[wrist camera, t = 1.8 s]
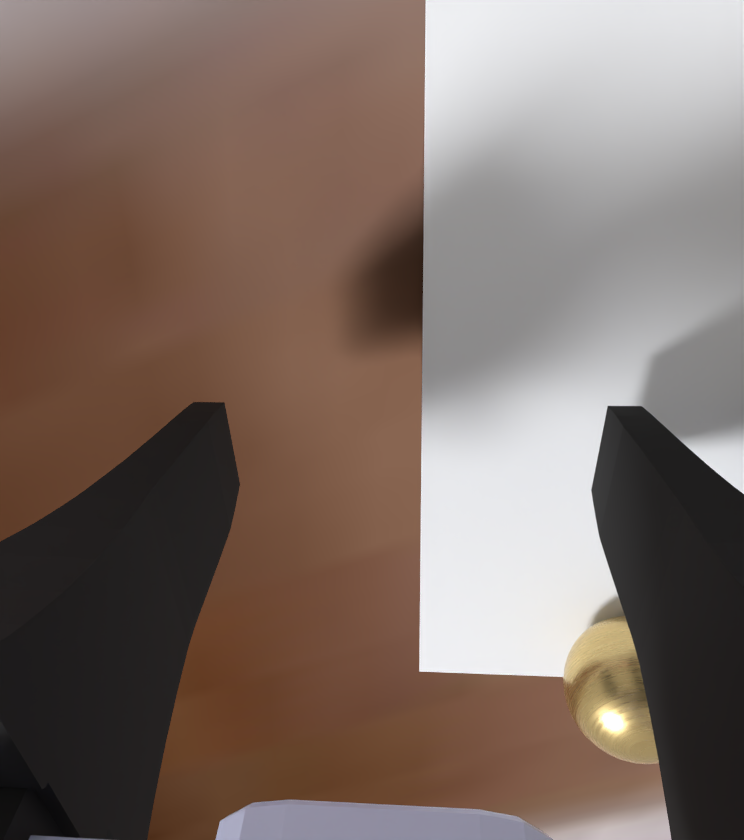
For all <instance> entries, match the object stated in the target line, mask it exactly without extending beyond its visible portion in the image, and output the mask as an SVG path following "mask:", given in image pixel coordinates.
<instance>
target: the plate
mask: <svg viewBox="0 0 744 840" xmlns="http://www.w3.org/2000/svg"><path fill="white" fill-rule="evenodd" d="M608 406H642V407H643V408H645V409H646V410H647V411H648V412H649V413H650V414H652V415H653V416H654V417H655V418H656V419H657V420H658V421H659V422H660V423H662V424H663V425H664V426H665V427H666V428H667V429H668V430H669V431H670V432H671V433H672V434H674V435H675V436H676V437H677V438H678V439H679V440H680V441H681V442H682V443H683V444H685V445H686V446H687V447H688V448H689V449H690V450H691V451H692V452H693V453H695V454H696V455H697V456H698V457H699V458H700V459H701V460H703V461H704V462H705V463H706V464H707V465H708V466H710V467H711V468H712V469H713V470H714V471H715V472H717V473H718V474H719V475H720V476H721V477H723V478H724V479H725V480H726V481H728V482H729V483H730V484H731V485H733V486H734V487H735V488H736V489H738V490H739V491H740V492H742V493H743V494H744V0H426V32H425V137H424V243H423V349H422V454H421V560H420V665H419V671H421V672H448V673H475V674H502V675H529V676H556V677H563V676H564V667H565V663H566V659H567V657H568V654H569V652H570V650H571V648H572V646H573V645H574V643H575V641H576V640H577V639H578V638H579V637H580V636H581V635H582V634H583V633H584V632H585V631H586V630H587V629H588V628H590V627H591V626H593V625H595V624H596V623H598V622H601V621H603V620H606V619H609V618H612V617H618V616H625V615H624V612H623V609H622V606H621V603H620V600H619V597H618V593H617V590H616V587H615V584H614V581H613V578H612V575H611V572H610V569H609V566H608V563H607V560H606V557H605V554H604V550H603V547H602V544H601V541H600V537H599V533H598V527H597V522H596V517H595V511H594V505H593V498H592V492H591V489H592V484H593V479H594V474H595V468H596V463H597V458H598V453H599V448H600V443H601V438H602V433H603V427H604V422H605V417H606V412H607V407H608Z"/></svg>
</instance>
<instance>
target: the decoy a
mask: <svg viewBox="0 0 744 840" xmlns="http://www.w3.org/2000/svg"><path fill="white" fill-rule="evenodd" d="M563 685H564V694H565V698H566V702H567V705H568V708H569V710H570V713H571V715H572V717H573V719H574V721H575V722H576V724H577V725H578V727H579V728H580V730H581V731H582V732H583V733H584V735H585V736H586V737H587V738H588V739H589V740H590V741H591V742H592V743H593V744H595V745H596V746H597V747H599V748H600V749H601V750H603V751H604V752H606V753H608V754H610V755H612V756H614V757H616V758H618V759H621V760H624V761H628V762H632V763H638V764H655V763H659V760H658V755H657V750H656V744H655V739H654V734H653V728H652V723H651V718H650V713H649V708H648V703H647V698H646V693H645V689H644V684H643V679H642V674H641V670H640V665H639V661H638V657H637V653H636V650H635V646H634V643H633V639H632V636H631V633H630V630H629V627H628V624H627V621H626V618H625V616H618V617H612V618H609V619H606V620H603V621H601V622H598V623H596V624H595V625H593V626H591V627H590V628H588V629H587V630H586V631H585V632H584V633H583V634H582V635H581V636H580V637H579V638H578V639H577V640H576V641H575V643H574V645H573V646H572V648H571V650H570V652H569V654H568V657H567V659H566V663H565V667H564V676H563Z"/></svg>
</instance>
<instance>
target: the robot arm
mask: <svg viewBox="0 0 744 840" xmlns="http://www.w3.org/2000/svg"><path fill="white" fill-rule="evenodd" d="M239 486H240V483H239V477H238V472H237V467H236V461H235V456H234V451H233V446H232V440H231V435H230V430H229V425H228V419H227V414H226V409H225V403H215V402H193V403H192V404H191V405H189V406H188V407H187V408H186V409H184V410H183V411H182V412H181V413H180V414H178V415H177V416H176V417H175V418H174V419H173V420H171V421H170V422H169V423H168V424H167V425H166V426H164V427H163V428H162V429H161V430H160V431H159V432H158V433H156V434H155V435H154V436H153V437H152V438H151V439H149V440H148V441H147V442H146V443H145V444H143V445H142V446H141V447H140V448H139V449H137V450H136V451H135V452H134V453H133V454H131V455H130V456H129V457H128V458H127V459H125V460H124V461H123V462H122V463H120V464H119V465H118V466H116V467H115V468H114V469H112V470H111V471H110V472H108V473H107V474H106V475H105V476H103V477H102V478H101V479H99V480H98V481H97V482H95V483H94V484H93V485H91V486H90V487H89V488H87V489H86V490H85V491H83V492H82V493H80V494H79V495H78V496H76V497H75V498H73V499H72V500H70V501H69V502H67V503H66V504H64V505H63V506H61V507H60V508H58V509H56V510H55V511H53V512H52V513H50V514H48V515H47V516H45V517H44V518H42V519H40V520H39V521H37V522H35V523H34V524H32V525H30V526H29V527H27V528H25V529H23V530H21V531H19V532H18V533H16V534H14V535H12V536H10V537H8V538H6V539H5V540H3V541H1V542H0V840H147V837H148V831H149V825H150V820H151V814H152V808H153V803H154V798H155V793H156V788H157V783H158V778H159V773H160V768H161V763H162V758H163V753H164V748H165V743H166V739H167V734H168V730H169V725H170V721H171V717H172V712H173V708H174V703H175V699H176V694H177V690H178V686H179V682H180V678H181V674H182V670H183V666H184V662H185V658H186V654H187V650H188V646H189V643H190V640H191V637H192V634H193V630H194V627H195V624H196V622H197V619H198V616H199V613H200V611H201V608H202V605H203V603H204V600H205V597H206V595H207V592H208V589H209V586H210V584H211V581H212V578H213V576H214V573H215V570H216V568H217V565H218V562H219V559H220V557H221V554H222V551H223V548H224V545H225V543H226V540H227V537H228V534H229V531H230V528H231V524H232V519H233V515H234V511H235V506H236V501H237V496H238V491H239ZM591 492H592V498H593V505H594V511H595V517H596V522H597V527H598V533H599V537H600V541H601V544H602V547H603V550H604V554H605V557H606V560H607V563H608V566H609V569H610V572H611V575H612V578H613V581H614V584H615V587H616V590H617V593H618V597H619V600H620V603H621V606H622V609H623V612H624V615H625V618H626V621H627V624H628V627H629V630H630V633H631V636H632V639H633V643H634V646H635V650H636V653H637V657H638V661H639V665H640V670H641V674H642V679H643V684H644V689H645V693H646V698H647V703H648V708H649V713H650V718H651V723H652V728H653V734H654V739H655V744H656V750H657V755H658V760H659V765H660V771H661V777H662V783H663V789H664V795H665V801H666V807H667V813H668V819H669V825H670V832H671V839H672V840H744V494H743V493H742V492H740V491H739V490H738V489H736V488H735V487H734V486H733V485H731V484H730V483H729V482H728V481H726V480H725V479H724V478H723V477H721V476H720V475H719V474H718V473H717V472H715V471H714V470H713V469H712V468H711V467H710V466H708V465H707V464H706V463H705V462H704V461H703V460H701V459H700V458H699V457H698V456H697V455H696V454H695V453H693V452H692V451H691V450H690V449H689V448H688V447H687V446H686V445H685V444H683V443H682V442H681V441H680V440H679V439H678V438H677V437H676V436H675V435H674V434H672V433H671V432H670V431H669V430H668V429H667V428H666V427H665V426H664V425H663V424H662V423H660V422H659V421H658V420H657V419H656V418H655V417H654V416H653V415H652V414H650V413H649V412H648V411H647V410H646V409H645V408H643V407H642V406H608V407H607V412H606V417H605V422H604V427H603V433H602V438H601V443H600V448H599V453H598V458H597V463H596V468H595V474H594V479H593V484H592V489H591ZM216 840H553V839H552V838H551V837H549V836H548V835H547V834H546V833H544V832H543V831H541V830H540V829H538V828H536V827H535V826H533V825H531V824H529V823H528V822H526V821H524V820H522V819H521V818H519V817H517V816H512V815H506V814H501V813H495V812H490V811H485V810H479V809H461V808H442V807H423V806H403V805H384V804H364V803H345V802H326V801H306V800H279V801H268V802H256V803H251V804H250V805H248V806H246V807H244V808H242V809H240V810H238V811H236V812H234V813H232V814H230V815H229V816H227V817H226V818H224V819H223V820H221V821H220V823H219V828H218V832H217V836H216Z"/></svg>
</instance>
